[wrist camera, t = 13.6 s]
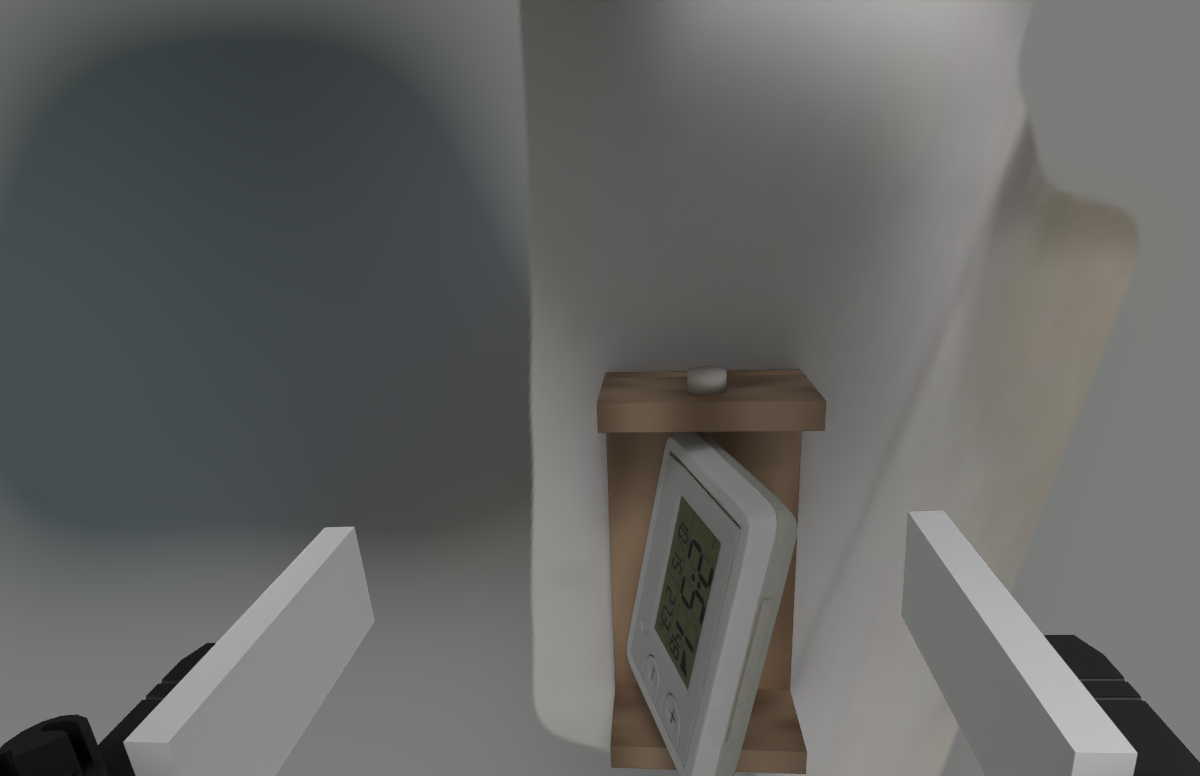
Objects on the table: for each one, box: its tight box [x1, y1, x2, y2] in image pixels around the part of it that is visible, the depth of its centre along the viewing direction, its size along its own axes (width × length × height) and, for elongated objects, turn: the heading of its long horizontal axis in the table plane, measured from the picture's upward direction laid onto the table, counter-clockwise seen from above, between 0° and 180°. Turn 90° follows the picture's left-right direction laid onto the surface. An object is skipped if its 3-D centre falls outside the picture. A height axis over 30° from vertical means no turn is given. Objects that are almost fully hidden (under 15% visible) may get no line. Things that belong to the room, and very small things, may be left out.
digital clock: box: [627, 432, 797, 776], centre depth 36 cm, size 16×9×11 cm, turn 160°
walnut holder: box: [597, 367, 826, 774], centre depth 39 cm, size 11×24×6 cm, turn 2°
